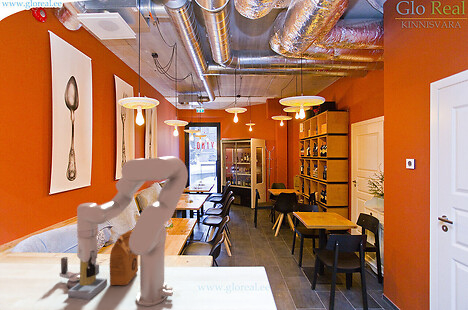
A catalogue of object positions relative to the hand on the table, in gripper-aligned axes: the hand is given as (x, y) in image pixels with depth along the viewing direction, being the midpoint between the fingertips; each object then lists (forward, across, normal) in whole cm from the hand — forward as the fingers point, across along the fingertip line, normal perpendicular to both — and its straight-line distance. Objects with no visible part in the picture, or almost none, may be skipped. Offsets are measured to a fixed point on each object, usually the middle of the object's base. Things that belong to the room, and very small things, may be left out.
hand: (88, 272), depth 96 cm
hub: (+8, -9, -1) cm, 12 cm away
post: (+8, -12, +8) cm, 16 cm away
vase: (+4, 0, 0) cm, 4 cm away
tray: (+8, 0, 0) cm, 8 cm away
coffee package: (+8, +4, +14) cm, 17 cm away
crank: (+6, -13, -3) cm, 14 cm away
